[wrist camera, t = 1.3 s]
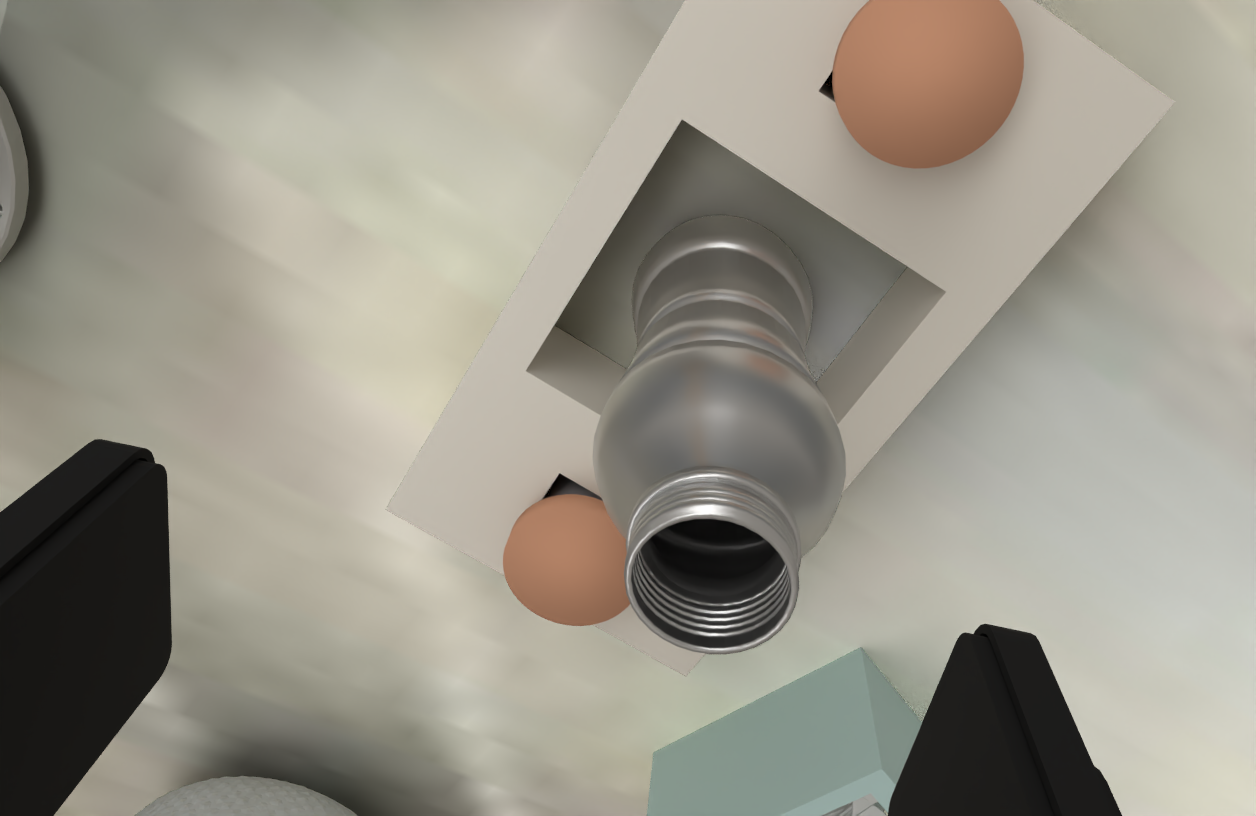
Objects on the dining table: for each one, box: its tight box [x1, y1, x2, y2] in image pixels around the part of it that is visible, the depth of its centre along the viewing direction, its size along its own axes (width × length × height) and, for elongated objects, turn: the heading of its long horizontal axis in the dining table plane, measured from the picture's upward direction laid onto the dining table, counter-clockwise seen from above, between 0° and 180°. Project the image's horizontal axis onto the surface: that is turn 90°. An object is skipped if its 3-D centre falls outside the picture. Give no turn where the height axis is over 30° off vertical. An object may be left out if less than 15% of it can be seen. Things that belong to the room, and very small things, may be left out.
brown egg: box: [832, 0, 1024, 169], centre depth 30 cm, size 5×5×6 cm
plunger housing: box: [385, 0, 1175, 676], centre depth 36 cm, size 27×14×5 cm, turn 149°
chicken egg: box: [503, 473, 630, 626], centre depth 39 cm, size 5×5×6 cm
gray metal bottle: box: [592, 215, 846, 654], centre depth 30 cm, size 6×7×20 cm
